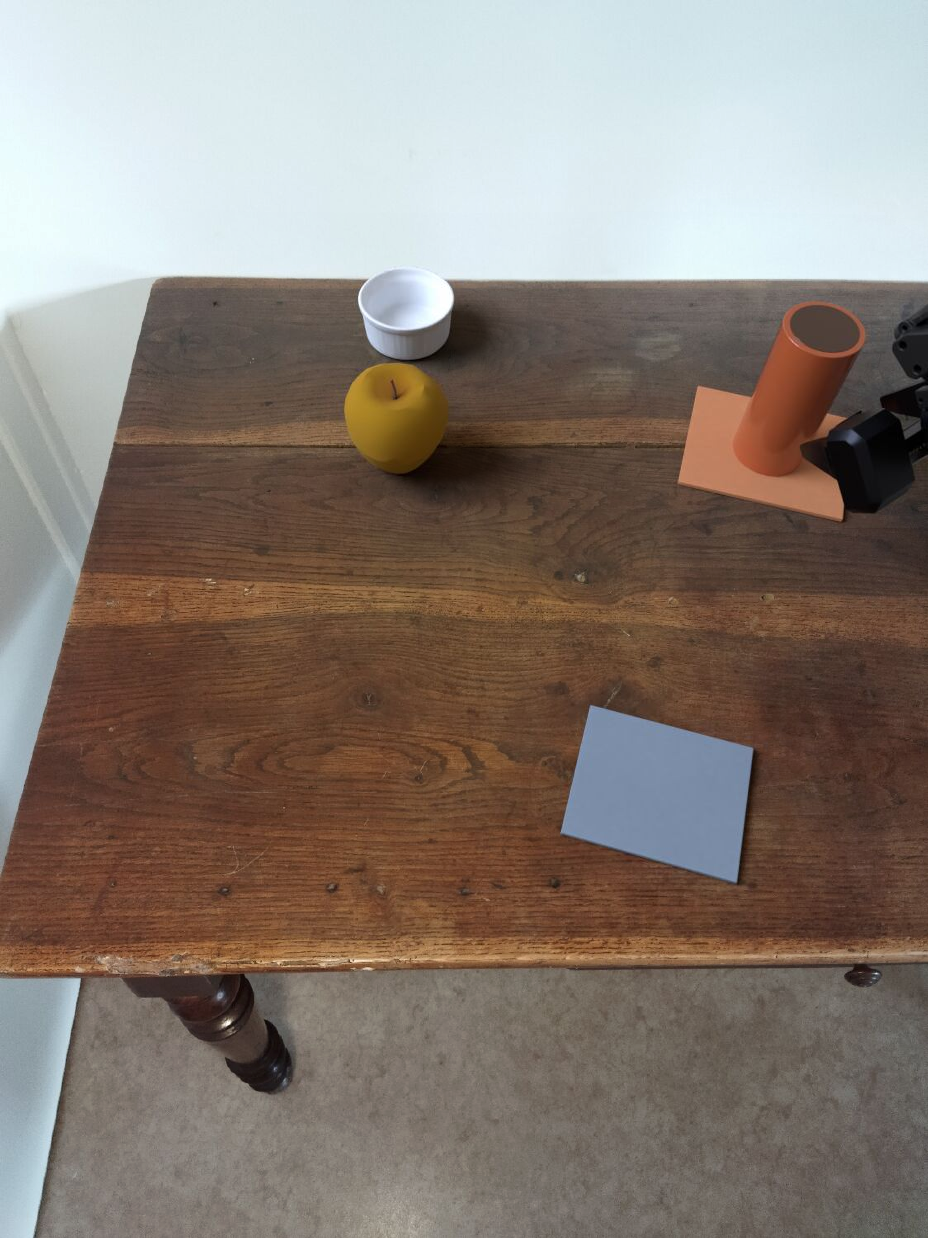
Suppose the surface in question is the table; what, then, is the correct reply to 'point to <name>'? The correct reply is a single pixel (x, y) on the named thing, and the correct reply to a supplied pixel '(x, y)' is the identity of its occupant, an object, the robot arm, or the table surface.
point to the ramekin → (406, 312)
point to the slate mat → (660, 793)
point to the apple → (396, 416)
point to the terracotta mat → (723, 473)
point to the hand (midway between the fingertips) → (842, 426)
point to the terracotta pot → (797, 386)
